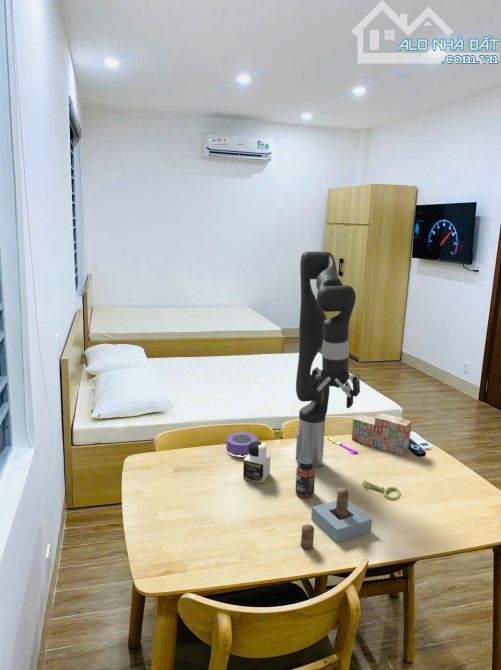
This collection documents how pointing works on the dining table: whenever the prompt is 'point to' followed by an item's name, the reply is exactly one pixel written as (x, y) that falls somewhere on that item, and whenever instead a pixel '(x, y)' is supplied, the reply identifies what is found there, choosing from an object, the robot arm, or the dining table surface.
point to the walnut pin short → (307, 537)
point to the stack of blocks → (383, 432)
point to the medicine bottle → (257, 462)
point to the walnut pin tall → (342, 503)
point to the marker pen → (345, 447)
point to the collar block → (341, 521)
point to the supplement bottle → (305, 478)
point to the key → (383, 490)
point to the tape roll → (239, 443)
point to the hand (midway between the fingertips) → (335, 404)
